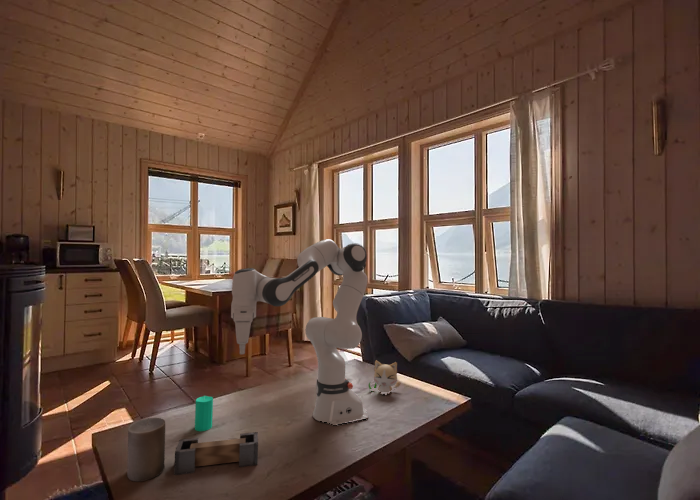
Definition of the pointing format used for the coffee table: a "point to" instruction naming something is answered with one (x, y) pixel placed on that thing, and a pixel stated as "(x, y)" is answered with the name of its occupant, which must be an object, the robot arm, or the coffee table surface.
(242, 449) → the endcap
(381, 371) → the kitten
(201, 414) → the candle
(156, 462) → the pillar candle
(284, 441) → the coffee table surface
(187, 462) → the endcap
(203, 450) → the slat
